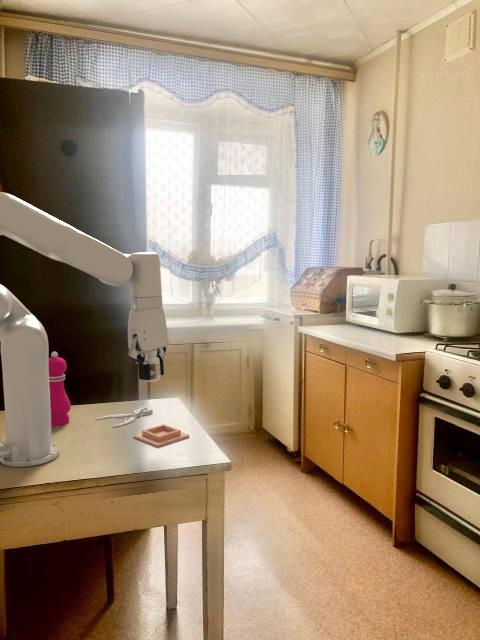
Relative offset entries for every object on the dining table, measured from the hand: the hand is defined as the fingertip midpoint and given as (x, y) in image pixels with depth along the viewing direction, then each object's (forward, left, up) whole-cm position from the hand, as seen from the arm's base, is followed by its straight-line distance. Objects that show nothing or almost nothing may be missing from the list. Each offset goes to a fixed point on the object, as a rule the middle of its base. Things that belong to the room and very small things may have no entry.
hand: (151, 376), depth 127 cm
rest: (+3, 0, -16) cm, 16 cm away
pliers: (+6, +20, -17) cm, 27 cm away
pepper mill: (-10, +30, -17) cm, 36 cm away
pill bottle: (0, 0, -1) cm, 1 cm away
